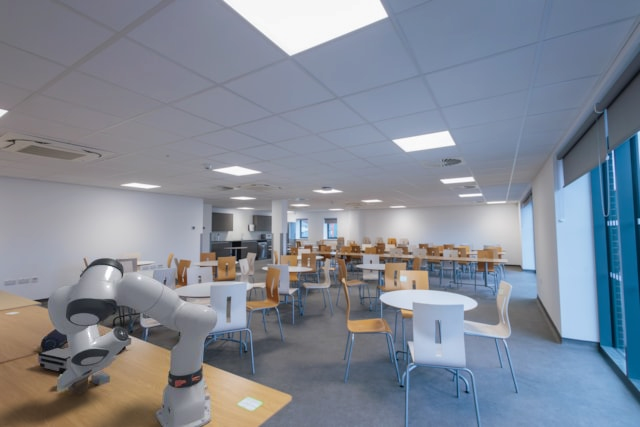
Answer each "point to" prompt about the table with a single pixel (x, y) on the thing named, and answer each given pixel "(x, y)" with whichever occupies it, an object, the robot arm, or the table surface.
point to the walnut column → (78, 387)
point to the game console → (60, 358)
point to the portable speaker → (53, 340)
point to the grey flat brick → (100, 378)
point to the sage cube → (60, 387)
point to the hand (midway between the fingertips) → (77, 381)
